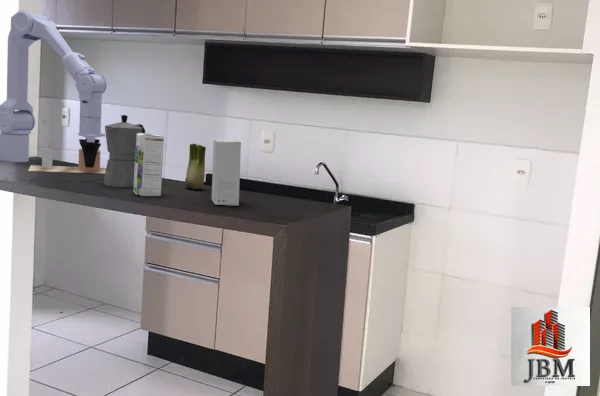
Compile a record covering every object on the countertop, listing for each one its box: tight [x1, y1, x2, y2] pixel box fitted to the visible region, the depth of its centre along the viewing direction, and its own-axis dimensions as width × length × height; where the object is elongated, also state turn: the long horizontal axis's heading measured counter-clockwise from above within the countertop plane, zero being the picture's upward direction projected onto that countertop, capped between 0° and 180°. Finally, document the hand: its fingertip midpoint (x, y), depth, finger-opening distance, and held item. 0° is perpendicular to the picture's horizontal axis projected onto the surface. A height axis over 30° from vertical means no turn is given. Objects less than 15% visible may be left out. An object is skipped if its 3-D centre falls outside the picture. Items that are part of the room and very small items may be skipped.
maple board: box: [27, 164, 106, 175], centre depth 174 cm, size 20×12×1 cm, turn 110°
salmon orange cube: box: [77, 148, 101, 172], centre depth 175 cm, size 6×6×6 cm
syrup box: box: [132, 132, 165, 197], centre depth 148 cm, size 6×6×14 cm
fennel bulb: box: [184, 143, 207, 190], centre depth 162 cm, size 6×5×12 cm
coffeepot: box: [102, 114, 146, 189], centre depth 160 cm, size 15×9×18 cm, turn 159°
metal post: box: [41, 147, 54, 169], centre depth 172 cm, size 3×3×6 cm
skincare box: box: [211, 139, 242, 207], centre depth 145 cm, size 8×6×15 cm
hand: (89, 165), depth 176 cm, fingers open, 7 cm apart
